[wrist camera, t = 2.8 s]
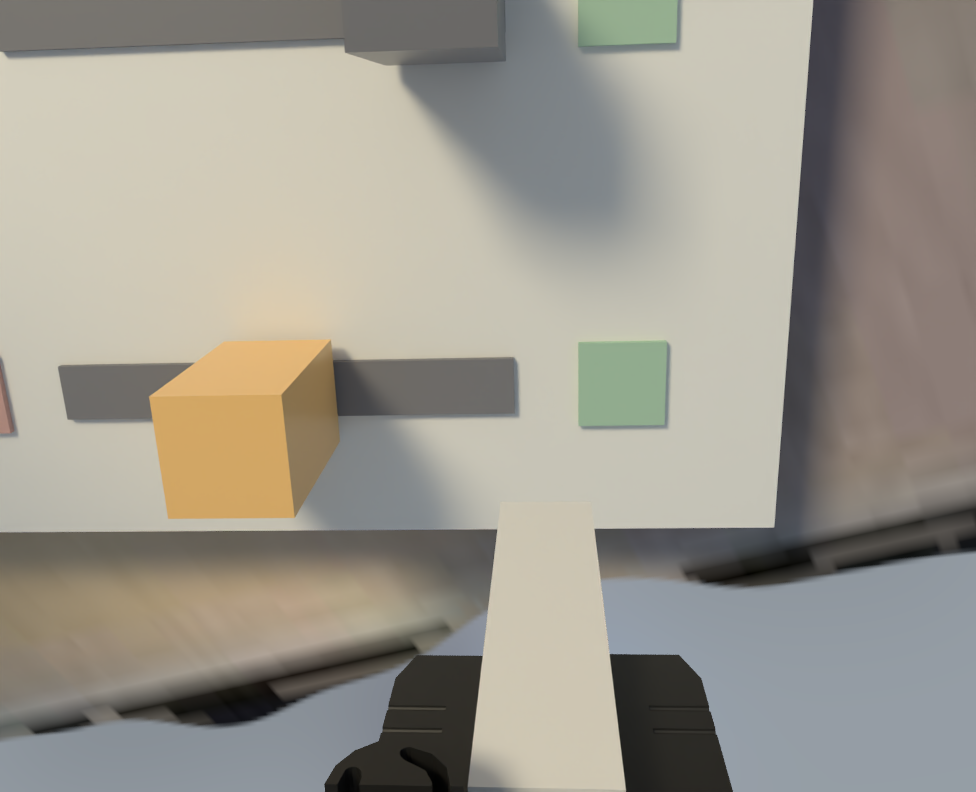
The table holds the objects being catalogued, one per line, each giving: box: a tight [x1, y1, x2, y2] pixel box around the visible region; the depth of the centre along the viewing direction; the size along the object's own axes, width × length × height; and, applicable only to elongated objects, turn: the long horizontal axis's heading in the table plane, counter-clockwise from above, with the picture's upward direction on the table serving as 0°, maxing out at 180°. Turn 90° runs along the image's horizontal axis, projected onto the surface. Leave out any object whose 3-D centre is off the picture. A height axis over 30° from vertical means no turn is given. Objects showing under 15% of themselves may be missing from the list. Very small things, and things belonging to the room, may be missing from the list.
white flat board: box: [0, 0, 813, 532], centre depth 25 cm, size 28×19×3 cm
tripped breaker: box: [149, 339, 340, 519], centre depth 22 cm, size 3×3×5 cm
